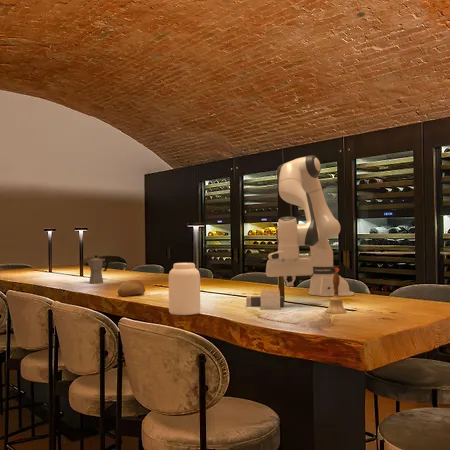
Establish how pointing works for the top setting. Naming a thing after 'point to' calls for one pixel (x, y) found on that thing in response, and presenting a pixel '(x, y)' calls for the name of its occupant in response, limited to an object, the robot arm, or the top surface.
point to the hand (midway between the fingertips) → (289, 286)
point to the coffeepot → (96, 269)
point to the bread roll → (131, 288)
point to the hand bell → (336, 298)
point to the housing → (270, 300)
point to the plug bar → (259, 301)
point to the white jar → (184, 289)
